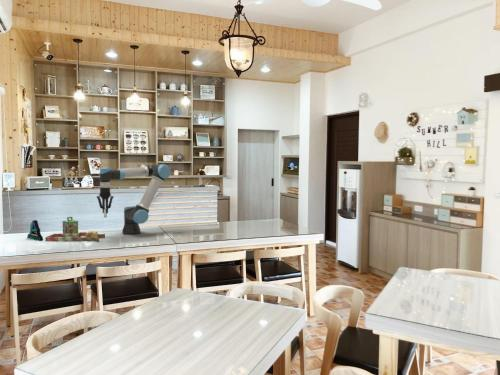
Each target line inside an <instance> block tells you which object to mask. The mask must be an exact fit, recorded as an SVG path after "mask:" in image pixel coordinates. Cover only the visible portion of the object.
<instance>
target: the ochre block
mask: <svg viewBox="0 0 500 375" xmlns="http://www.w3.org/2000/svg"><path fill="white" fill-rule="evenodd" d="M86 232H87V233H86V236H85V237H98V234H99V233H98V231H92V230H91V231H90V230H89V231H86Z"/></svg>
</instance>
